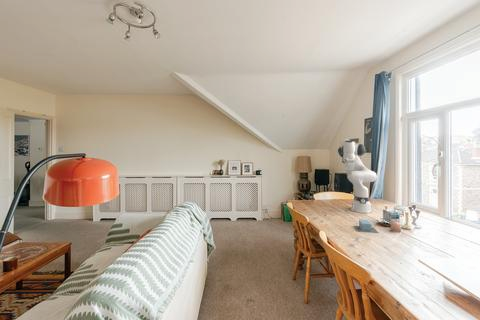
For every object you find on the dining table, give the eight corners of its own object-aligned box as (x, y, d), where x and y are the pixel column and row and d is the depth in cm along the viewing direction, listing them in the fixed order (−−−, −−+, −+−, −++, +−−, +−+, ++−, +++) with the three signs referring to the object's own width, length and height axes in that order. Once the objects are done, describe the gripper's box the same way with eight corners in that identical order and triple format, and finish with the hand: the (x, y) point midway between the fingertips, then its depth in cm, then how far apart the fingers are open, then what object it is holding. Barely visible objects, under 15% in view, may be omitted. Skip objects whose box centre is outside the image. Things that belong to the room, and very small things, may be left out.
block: (359, 219, 167) (362, 223, 158) (367, 220, 165) (371, 224, 156) (359, 225, 167) (361, 230, 158) (367, 226, 165) (371, 231, 156)
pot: (389, 229, 161) (389, 221, 160) (398, 229, 159) (398, 221, 158) (392, 231, 155) (392, 223, 155) (402, 232, 153) (402, 224, 153)
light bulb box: (400, 226, 166) (400, 212, 165) (391, 226, 166) (391, 212, 166) (390, 221, 177) (390, 208, 176) (382, 221, 177) (382, 208, 176)
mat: (353, 225, 167) (353, 225, 167) (374, 227, 163) (374, 227, 163) (356, 231, 157) (356, 230, 157) (378, 233, 153) (378, 232, 153)
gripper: (343, 159, 193) (343, 174, 194) (346, 160, 174) (346, 177, 174) (350, 159, 191) (350, 174, 192) (355, 160, 172) (355, 177, 172)
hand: (348, 175), depth 183 cm, fingers open, 8 cm apart
